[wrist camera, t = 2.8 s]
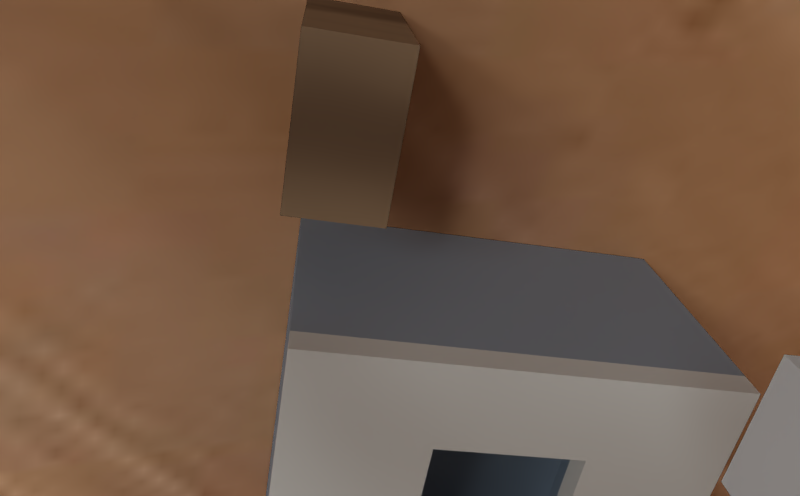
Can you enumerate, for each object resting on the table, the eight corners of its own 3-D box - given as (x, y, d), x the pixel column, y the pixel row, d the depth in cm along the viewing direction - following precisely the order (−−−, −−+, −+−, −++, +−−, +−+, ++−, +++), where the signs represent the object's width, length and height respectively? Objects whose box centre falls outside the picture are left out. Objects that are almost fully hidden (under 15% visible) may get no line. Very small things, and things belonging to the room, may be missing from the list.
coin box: (301, 215, 30) (287, 348, 21) (643, 259, 33) (760, 394, 24) (266, 488, 37) (245, 676, 28) (551, 507, 39) (615, 684, 30)
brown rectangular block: (308, -4, 26) (301, 25, 20) (399, 12, 27) (420, 45, 20) (291, 147, 29) (280, 215, 22) (374, 158, 29) (386, 229, 23)
